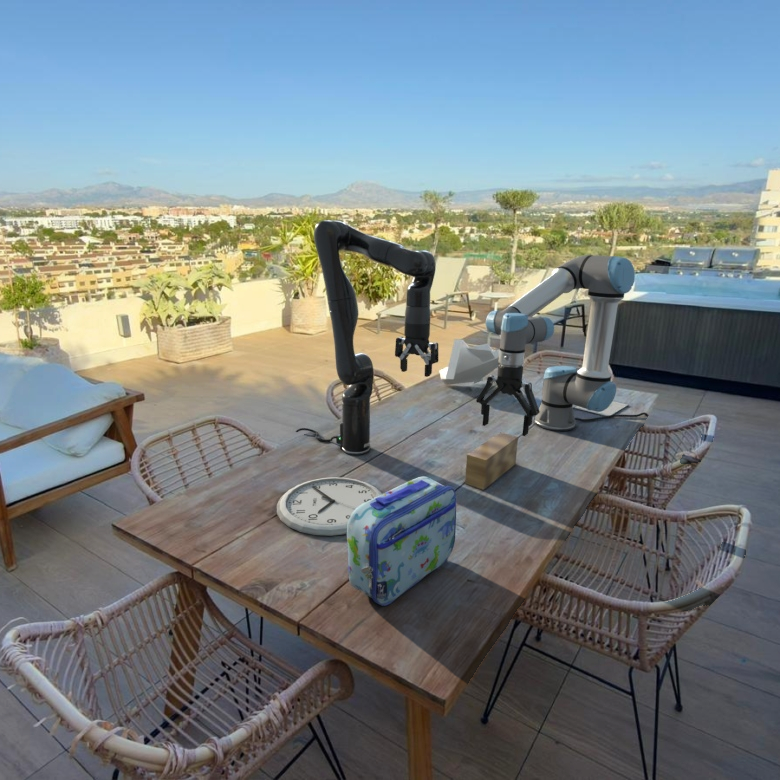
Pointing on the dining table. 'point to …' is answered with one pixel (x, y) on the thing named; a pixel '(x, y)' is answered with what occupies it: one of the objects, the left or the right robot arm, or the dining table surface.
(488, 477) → the box
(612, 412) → the invitation card
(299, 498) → the wall clock
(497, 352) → the white plastic object
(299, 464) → the dining table surface
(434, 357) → the left robot arm
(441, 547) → the lunch box
